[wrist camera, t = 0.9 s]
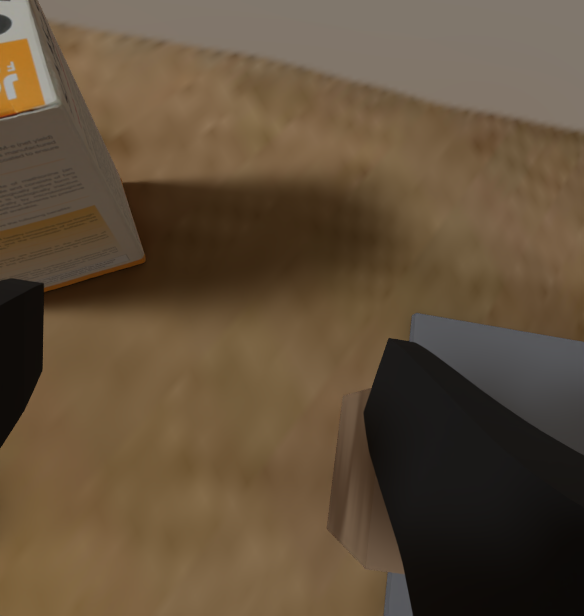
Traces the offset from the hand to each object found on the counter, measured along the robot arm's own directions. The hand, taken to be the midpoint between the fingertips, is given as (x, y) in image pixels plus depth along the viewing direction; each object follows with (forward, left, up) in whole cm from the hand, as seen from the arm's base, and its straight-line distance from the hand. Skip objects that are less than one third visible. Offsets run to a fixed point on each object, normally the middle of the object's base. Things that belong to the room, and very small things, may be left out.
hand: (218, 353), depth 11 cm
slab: (-2, -7, -14) cm, 16 cm away
